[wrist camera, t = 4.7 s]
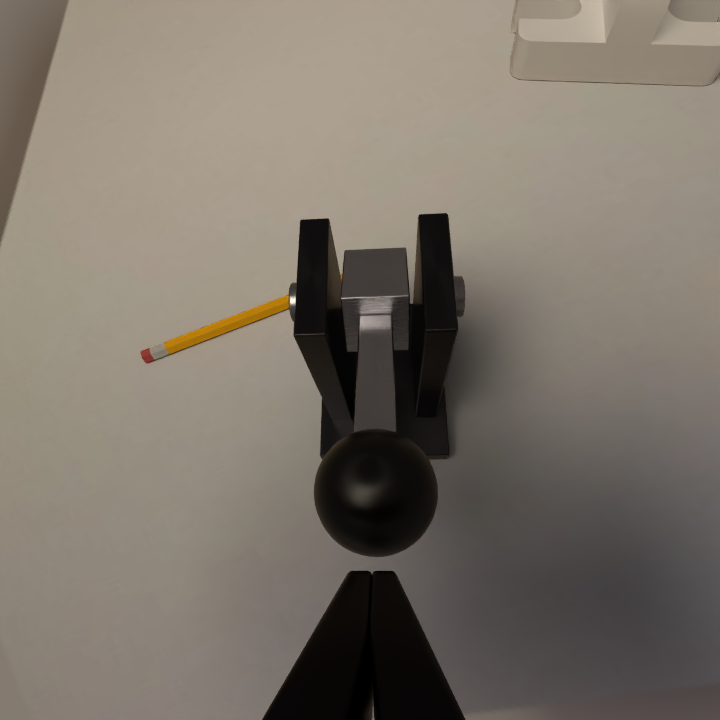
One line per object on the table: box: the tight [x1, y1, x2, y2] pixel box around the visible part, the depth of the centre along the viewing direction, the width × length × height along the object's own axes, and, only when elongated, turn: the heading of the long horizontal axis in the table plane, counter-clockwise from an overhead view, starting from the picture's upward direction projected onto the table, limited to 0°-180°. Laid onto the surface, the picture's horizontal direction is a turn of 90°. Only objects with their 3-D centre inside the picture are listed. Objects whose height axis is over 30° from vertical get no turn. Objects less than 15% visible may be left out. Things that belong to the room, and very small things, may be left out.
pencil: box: [141, 275, 342, 363], centre depth 27 cm, size 1×13×1 cm, turn 112°
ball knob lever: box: [314, 248, 438, 557], centre depth 14 cm, size 10×3×3 cm, turn 0°
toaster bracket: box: [289, 213, 465, 459], centre depth 20 cm, size 8×6×10 cm
